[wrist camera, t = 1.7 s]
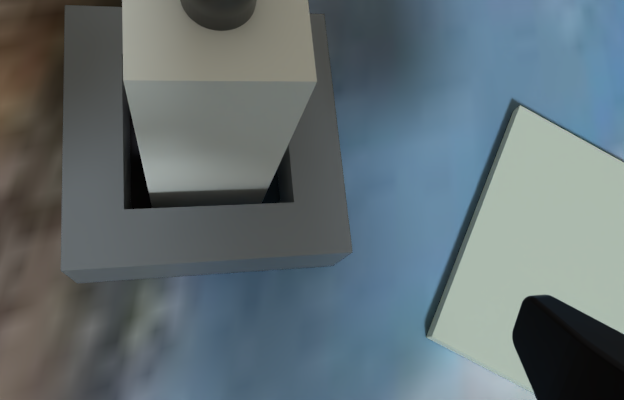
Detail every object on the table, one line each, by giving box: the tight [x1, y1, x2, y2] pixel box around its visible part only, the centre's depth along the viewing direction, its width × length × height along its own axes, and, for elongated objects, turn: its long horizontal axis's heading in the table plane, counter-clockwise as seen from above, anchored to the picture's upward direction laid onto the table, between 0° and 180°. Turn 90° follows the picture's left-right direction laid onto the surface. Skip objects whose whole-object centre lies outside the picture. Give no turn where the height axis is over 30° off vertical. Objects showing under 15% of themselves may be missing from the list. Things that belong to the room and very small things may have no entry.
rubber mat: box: [426, 105, 624, 393], centre depth 26 cm, size 12×12×1 cm
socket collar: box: [61, 5, 352, 283], centre depth 23 cm, size 10×10×3 cm
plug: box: [122, 0, 317, 208], centre depth 18 cm, size 4×4×12 cm
